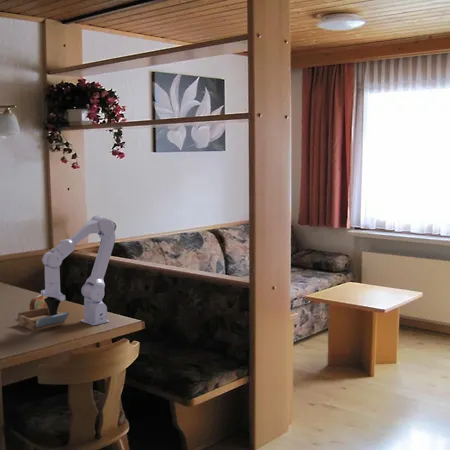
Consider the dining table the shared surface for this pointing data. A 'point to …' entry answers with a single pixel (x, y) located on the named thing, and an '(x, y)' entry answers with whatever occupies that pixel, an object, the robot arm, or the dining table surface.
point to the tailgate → (52, 319)
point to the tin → (38, 302)
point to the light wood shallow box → (35, 318)
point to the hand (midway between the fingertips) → (53, 315)
